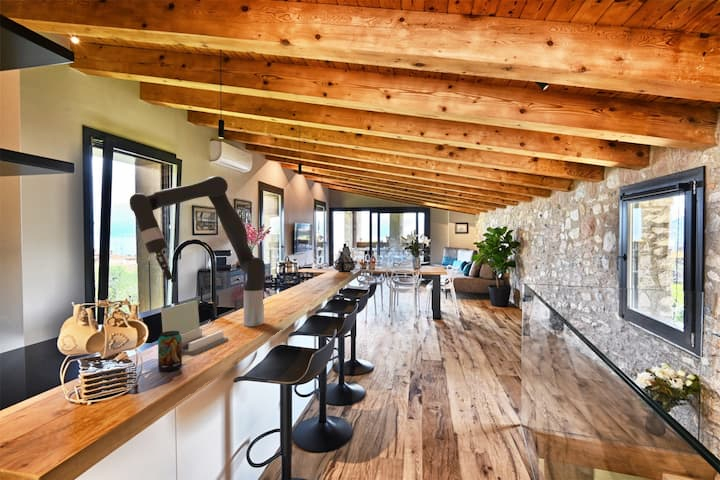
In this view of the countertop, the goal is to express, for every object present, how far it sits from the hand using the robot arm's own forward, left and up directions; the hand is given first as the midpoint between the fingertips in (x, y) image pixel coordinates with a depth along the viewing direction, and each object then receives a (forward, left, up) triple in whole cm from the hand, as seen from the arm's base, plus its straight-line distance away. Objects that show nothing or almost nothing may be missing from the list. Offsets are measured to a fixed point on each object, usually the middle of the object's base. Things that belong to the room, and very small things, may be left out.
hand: (170, 279), depth 156 cm
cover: (+1, +7, -16) cm, 17 cm away
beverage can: (+25, +23, -26) cm, 43 cm away
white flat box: (+1, +13, -26) cm, 29 cm away
